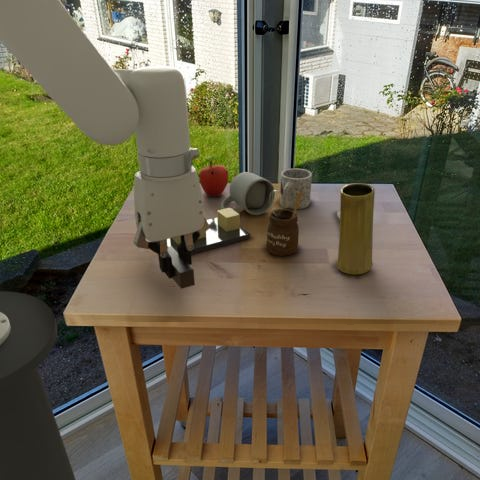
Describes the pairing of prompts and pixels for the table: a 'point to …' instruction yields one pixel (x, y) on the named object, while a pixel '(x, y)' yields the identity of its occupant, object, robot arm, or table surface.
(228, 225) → the butter pat
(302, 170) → the mug
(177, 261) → the table knife
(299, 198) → the utensil holder
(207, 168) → the apple
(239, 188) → the ceramic mug
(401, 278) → the table surface
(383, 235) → the table surface
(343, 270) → the vase
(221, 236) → the board
